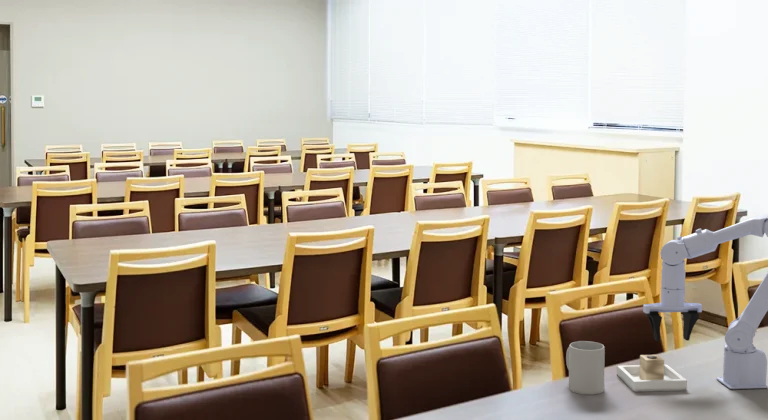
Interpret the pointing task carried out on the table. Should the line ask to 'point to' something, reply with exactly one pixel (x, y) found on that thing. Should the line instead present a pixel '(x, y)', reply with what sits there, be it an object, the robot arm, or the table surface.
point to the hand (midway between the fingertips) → (671, 339)
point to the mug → (586, 367)
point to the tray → (670, 382)
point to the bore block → (651, 367)
